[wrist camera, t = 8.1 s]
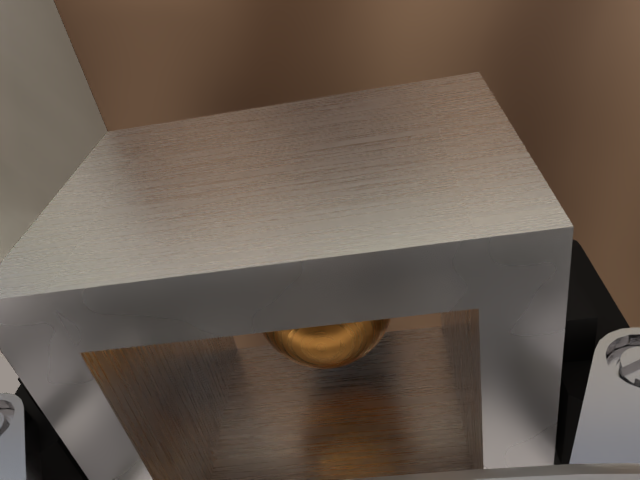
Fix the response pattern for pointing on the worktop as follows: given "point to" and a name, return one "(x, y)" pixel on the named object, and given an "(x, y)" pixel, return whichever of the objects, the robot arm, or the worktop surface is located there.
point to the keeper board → (394, 69)
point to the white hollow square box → (298, 292)
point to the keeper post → (328, 343)
